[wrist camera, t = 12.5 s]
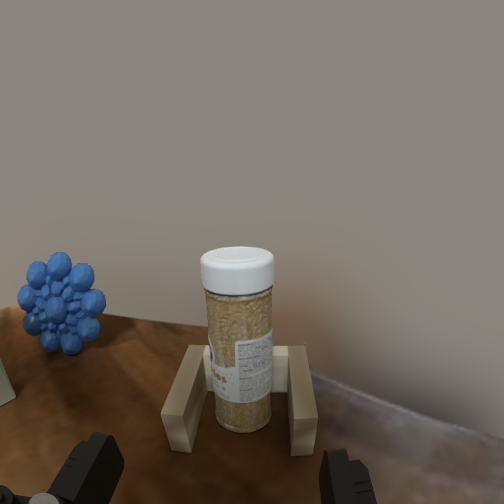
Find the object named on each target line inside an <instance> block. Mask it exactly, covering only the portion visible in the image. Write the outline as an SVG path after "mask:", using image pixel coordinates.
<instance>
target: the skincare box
mask: <svg viewBox="0 0 504 504" xmlns="http://www.w3.org/2000/svg"><path fill="white" fill-rule="evenodd" d="M15 398H16V395H15V392H14V390H13V388H12V386H11V383H10V381H9V379H8V376H7V374H6V371H5V369H4V366H3V364H2V361H1V358H0V406H2V405H3V404H5V403H7V402H9V401H11V400H13V399H15Z"/></svg>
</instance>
